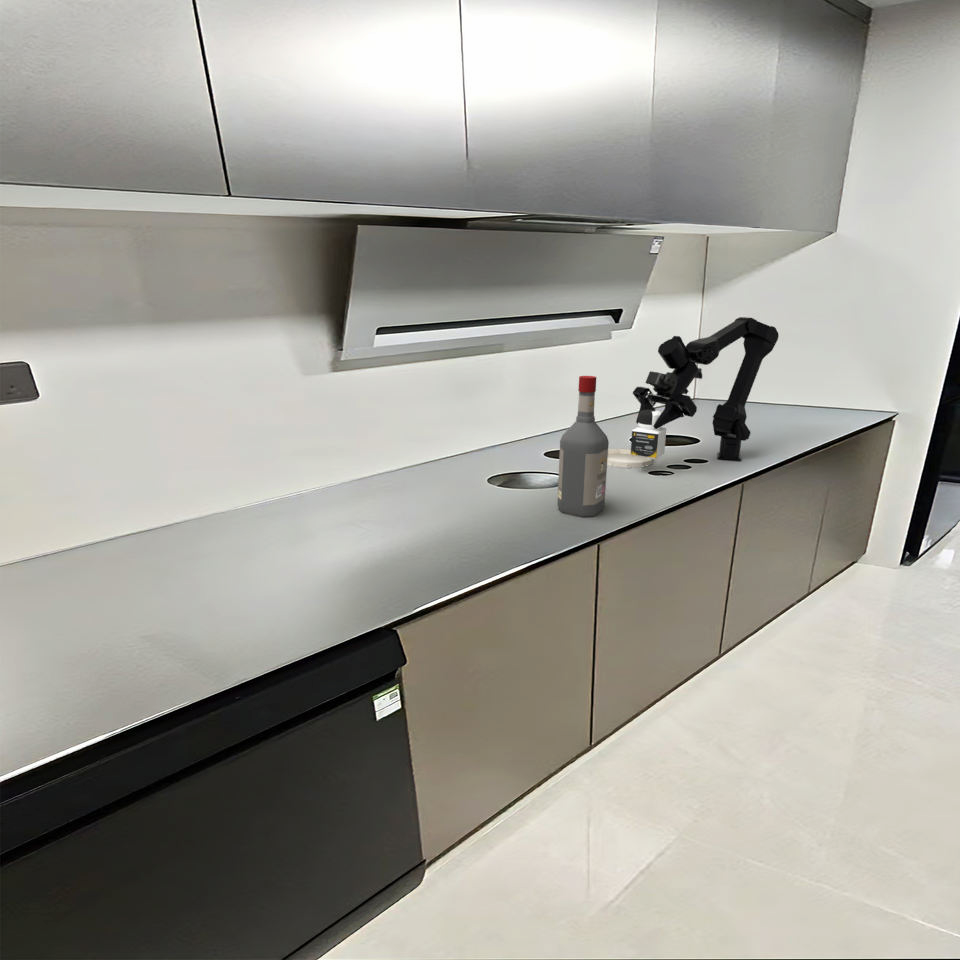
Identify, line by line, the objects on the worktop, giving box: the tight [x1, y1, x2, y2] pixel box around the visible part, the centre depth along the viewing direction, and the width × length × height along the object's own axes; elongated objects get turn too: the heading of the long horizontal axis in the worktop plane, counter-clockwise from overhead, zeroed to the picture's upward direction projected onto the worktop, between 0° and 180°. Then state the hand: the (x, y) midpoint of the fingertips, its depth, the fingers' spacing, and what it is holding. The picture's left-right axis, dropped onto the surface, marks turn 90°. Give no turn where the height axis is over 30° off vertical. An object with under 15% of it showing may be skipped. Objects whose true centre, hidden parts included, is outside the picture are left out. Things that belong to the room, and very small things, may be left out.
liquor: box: [557, 375, 610, 518], centre depth 146 cm, size 9×9×30 cm
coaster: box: [607, 448, 654, 467], centre depth 191 cm, size 16×16×2 cm
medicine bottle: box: [630, 409, 667, 460], centre depth 176 cm, size 7×7×12 cm
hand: (645, 425), depth 175 cm, fingers closed on medicine bottle, 6 cm apart
